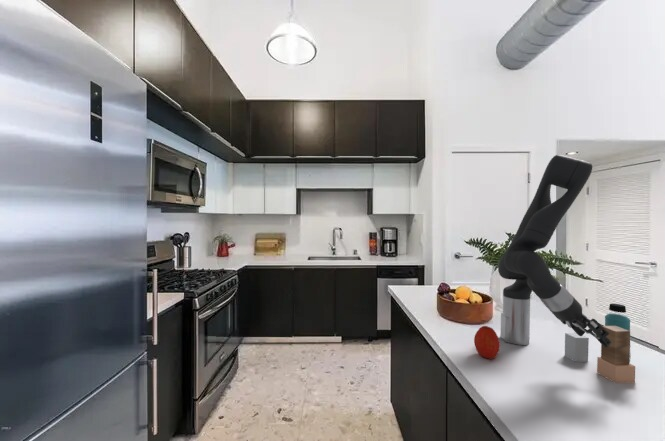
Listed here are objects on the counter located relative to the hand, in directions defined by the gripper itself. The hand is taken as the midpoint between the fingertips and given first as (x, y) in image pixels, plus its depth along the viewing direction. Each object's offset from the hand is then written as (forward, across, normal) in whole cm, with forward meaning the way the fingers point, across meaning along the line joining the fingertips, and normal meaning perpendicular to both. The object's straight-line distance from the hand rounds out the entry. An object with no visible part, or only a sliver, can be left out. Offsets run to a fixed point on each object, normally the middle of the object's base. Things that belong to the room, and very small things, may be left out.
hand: (594, 339), depth 94 cm
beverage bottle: (+19, +8, -2) cm, 21 cm away
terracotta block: (+13, 0, +3) cm, 14 cm away
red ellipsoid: (-9, +15, +26) cm, 31 cm away
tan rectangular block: (+10, 0, 0) cm, 10 cm away
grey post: (+12, +13, +4) cm, 18 cm away
